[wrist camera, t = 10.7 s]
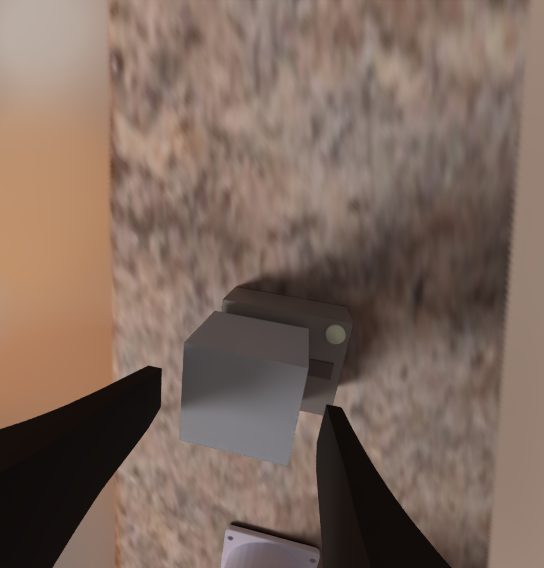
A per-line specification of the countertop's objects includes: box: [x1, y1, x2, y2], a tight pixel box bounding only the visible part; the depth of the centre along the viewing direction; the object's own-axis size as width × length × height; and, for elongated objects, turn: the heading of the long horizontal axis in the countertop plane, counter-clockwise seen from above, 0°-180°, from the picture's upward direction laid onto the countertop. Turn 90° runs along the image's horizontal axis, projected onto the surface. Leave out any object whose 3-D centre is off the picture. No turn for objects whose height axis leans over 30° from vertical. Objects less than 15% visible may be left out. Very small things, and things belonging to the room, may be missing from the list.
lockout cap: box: [179, 311, 309, 466], centre depth 12 cm, size 5×5×4 cm
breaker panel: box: [222, 287, 353, 416], centre depth 15 cm, size 6×7×3 cm
